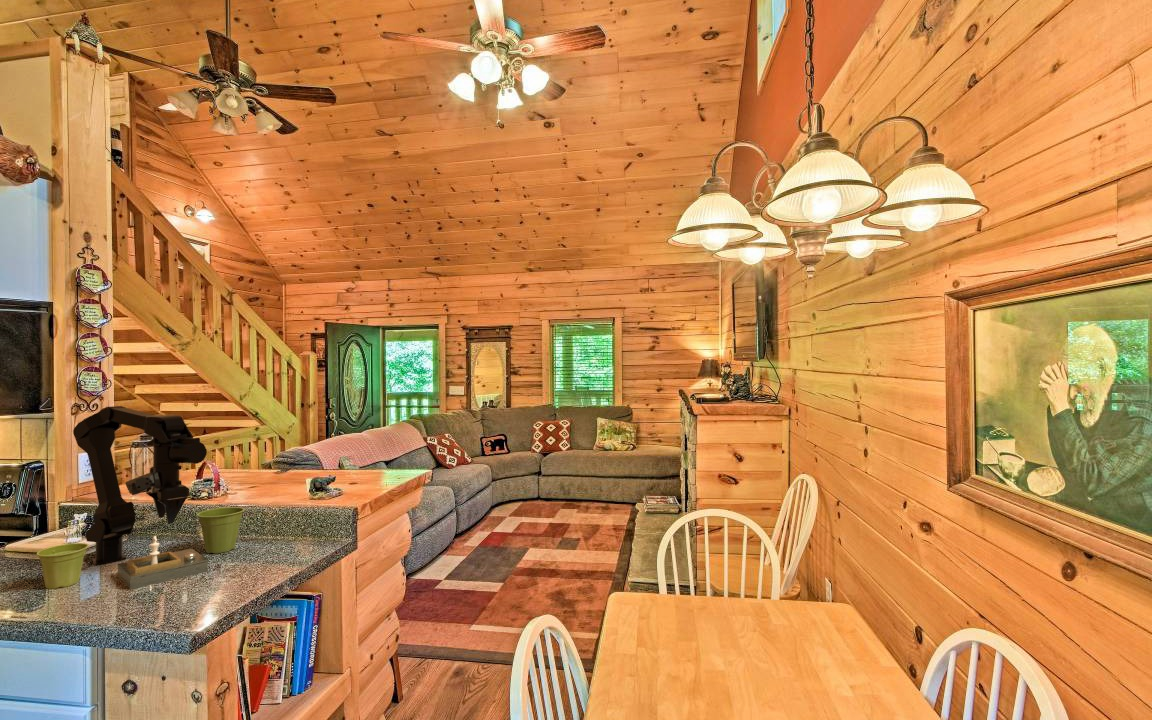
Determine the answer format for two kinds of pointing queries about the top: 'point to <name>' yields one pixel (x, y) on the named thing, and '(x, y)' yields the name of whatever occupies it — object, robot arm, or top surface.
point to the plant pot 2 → (220, 528)
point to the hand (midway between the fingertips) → (165, 520)
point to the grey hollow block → (161, 568)
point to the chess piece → (154, 550)
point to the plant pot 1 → (62, 564)
